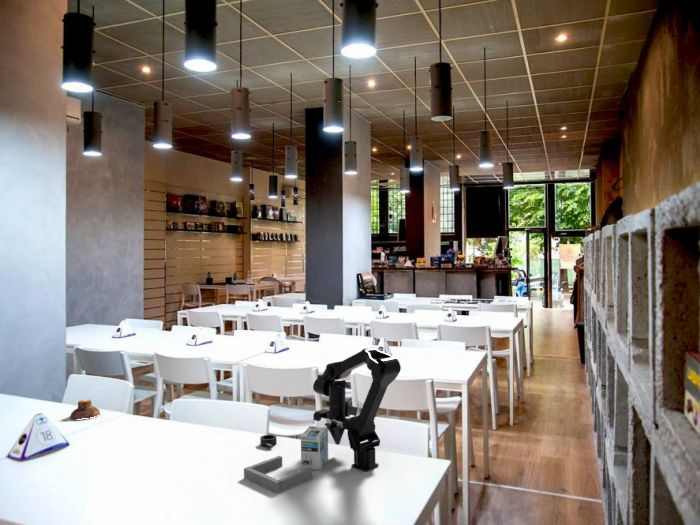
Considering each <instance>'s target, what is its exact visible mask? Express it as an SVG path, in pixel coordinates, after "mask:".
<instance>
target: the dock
mask: <svg viewBox="0 0 700 525" xmlns="http://www.w3.org/2000/svg"><path fill="white" fill-rule="evenodd" d="M280 467H283V456H281V455H277V456H275V457H272V458H269V459H266V460H263V461H261V462H258V463H255V464H252V465H250V466H247V467H244V468H243V479H245V480H247V481H249V482H251V481H252V483H254V484H256V485H258V486H261V487H262V486H263V488H265V489H267V490H270V491H272V492H273V491H274V493H276V494H279V493H281V492H283V491H286V490H288V489H290V488H293V487H296V486H298V485H301V484H302V483H304V482H307V481H310V480H312V479H313V478H314V474H313V473H314V470H313V468H310V467H309V468H306V469H301V470H299V471H295V472H294V473H292V474H289V475H286V476H285V477H282V478H279V479H277V478H275V477H273V476H270V475H268V474H266V473H268V472H270V470H271V471H273V470H276V469H278V468H280Z"/></svg>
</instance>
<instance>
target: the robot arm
mask: <svg viewBox="0 0 700 525" xmlns="http://www.w3.org/2000/svg"><path fill="white" fill-rule="evenodd" d="M364 365H366V367H367V369H368V370H369V371H370V372H371V374H370V375H371V378H372V382H371V384H370V387H369V390H368V392H367V394H366V397H365V400H364V402H363V405H362V408H361V410H360V413H359V415H357V414H358V411H359V407H357V406H355V405H354V406H353V405H350V403H349V401H347V400H346V389H347V388H350V384H349V383H348V381H346V380H345V379H347V377H348V376H350V375H351V374H352V371H353V370H355V369H357V368H359V367H361V366H364ZM401 370H402V368H401V363H400V361H399V359H397V357H395V356H392V355H391V354H388V353H386V352H383V351H381V350H379V349H377V348H375V347H369V348H368V347H367V348H363V349H362V350H360V351H359V352H357V353H355V354H353V355H351V356H349V357H348V358H345V359H344V360H340V361H336V362H331V363H327V364H326V366H325V369H324V371H323V373H322V374H317V378H316V379H315V380H314V382H313V385H312V389H313V391H314V393H315V394H319V395H322V396H325V397H328V401H327V402H326V406H327V407H328V409H326V408H322V409H319V410H316V411H314V413H313V421H315V422H320V421H321V420H322V419H324V420H325V421H326V423H324V427H328V433H330V435H331V437H332V440H333V442H334V444H335V445H340V444H341V441H342V438H343V435H344V433H345V430H347V431H346V432H347V438H348V443H349V446H350V447H349V448H350V450H352V451H353V463H352V464H351V467H353V468H355V469H358V470H360V471H364V472H368V471H371V470H372V469H376V468H377V467H379V463H377V462H376V447H379V446H380V443H381V439H380V438H379V435H378V434H377V432H376V424H375V418H376V416H377V413H378V411H379V408H380V406H381V403H382V401H383V399H384V397H385V394H386V392H387V390H388V387H389V385H390V384H391V383H393V382H394V381H395V380H396V379H397V377H398V375H399V374H400V372H401ZM341 379H343V380H341Z"/></svg>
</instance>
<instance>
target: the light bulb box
mask: <svg viewBox="0 0 700 525" xmlns="http://www.w3.org/2000/svg"><path fill="white" fill-rule="evenodd" d="M300 451H301V452H300V460H301V462H300V465H301V466H300V468H301V470H304V469H306V468H309V467H310V468H313V471H314V470H315V471H316V470H317V471H321V470H322V469H323V467H324V465H326V463H327V461H328V459H329V430H328V427H327V426H313V425H309V426H308V427H307V428H306V430H305V431H303V433H302V434H301V435H300Z"/></svg>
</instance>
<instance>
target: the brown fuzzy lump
mask: <svg viewBox="0 0 700 525" xmlns="http://www.w3.org/2000/svg"><path fill="white" fill-rule="evenodd" d="M99 414H100V415H101V412H100V409H99V408H98V407H96V406H93V404H92V399H87V400H83V399H82V400H78V402H77V408H76V409H74V410H73V411H72V412H71V413H70V416H69V417H71V418H73V419H82V418H90V417H94V416H97V415H99ZM100 415H99V416H100ZM71 418H70V419H71Z"/></svg>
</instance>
